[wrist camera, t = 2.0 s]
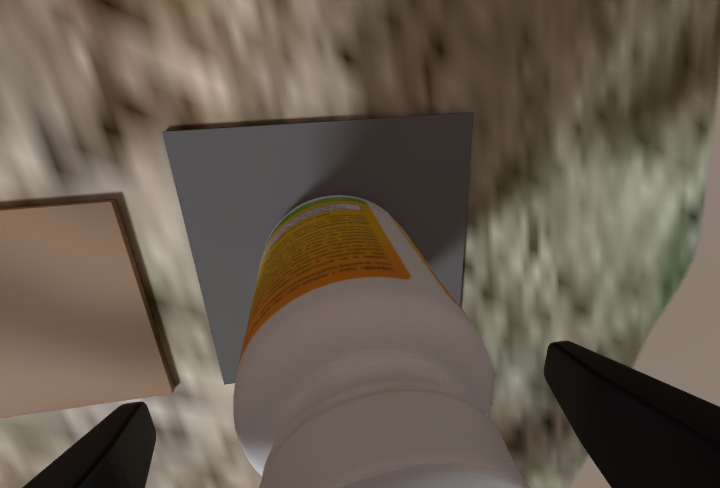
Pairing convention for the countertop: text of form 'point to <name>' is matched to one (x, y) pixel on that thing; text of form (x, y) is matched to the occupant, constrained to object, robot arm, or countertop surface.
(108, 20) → the countertop surface
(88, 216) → the walnut coaster
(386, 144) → the mat
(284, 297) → the supplement bottle
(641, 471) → the robot arm
